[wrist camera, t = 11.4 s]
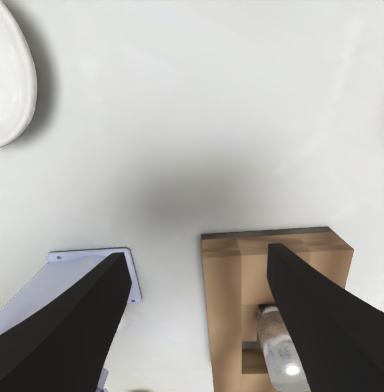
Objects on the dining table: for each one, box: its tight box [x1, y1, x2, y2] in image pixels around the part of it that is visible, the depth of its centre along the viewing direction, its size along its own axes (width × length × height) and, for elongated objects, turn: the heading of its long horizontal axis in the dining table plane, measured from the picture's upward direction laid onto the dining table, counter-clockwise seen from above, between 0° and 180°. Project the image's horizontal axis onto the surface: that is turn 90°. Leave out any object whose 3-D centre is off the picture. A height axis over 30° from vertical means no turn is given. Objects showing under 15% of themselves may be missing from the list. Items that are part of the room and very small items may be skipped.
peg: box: [256, 304, 310, 392], centre depth 19 cm, size 5×5×8 cm
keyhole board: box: [201, 227, 354, 392], centre depth 24 cm, size 13×22×4 cm, turn 5°
